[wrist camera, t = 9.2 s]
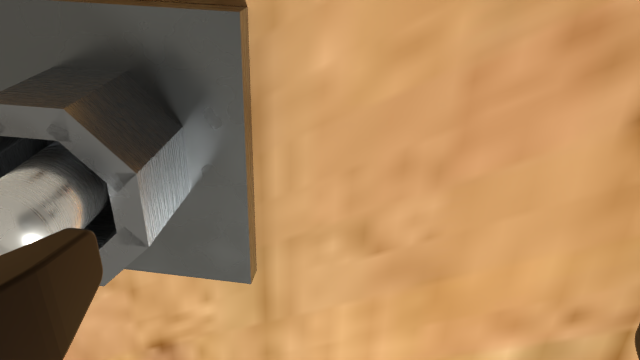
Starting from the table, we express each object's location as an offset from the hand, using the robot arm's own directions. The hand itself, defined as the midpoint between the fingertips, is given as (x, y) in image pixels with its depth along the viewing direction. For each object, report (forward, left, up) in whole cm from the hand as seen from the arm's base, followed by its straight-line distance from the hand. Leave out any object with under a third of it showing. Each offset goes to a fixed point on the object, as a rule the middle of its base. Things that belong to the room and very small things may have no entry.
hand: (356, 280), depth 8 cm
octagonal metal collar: (+11, +4, -11) cm, 16 cm away
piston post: (+11, +4, -12) cm, 17 cm away
